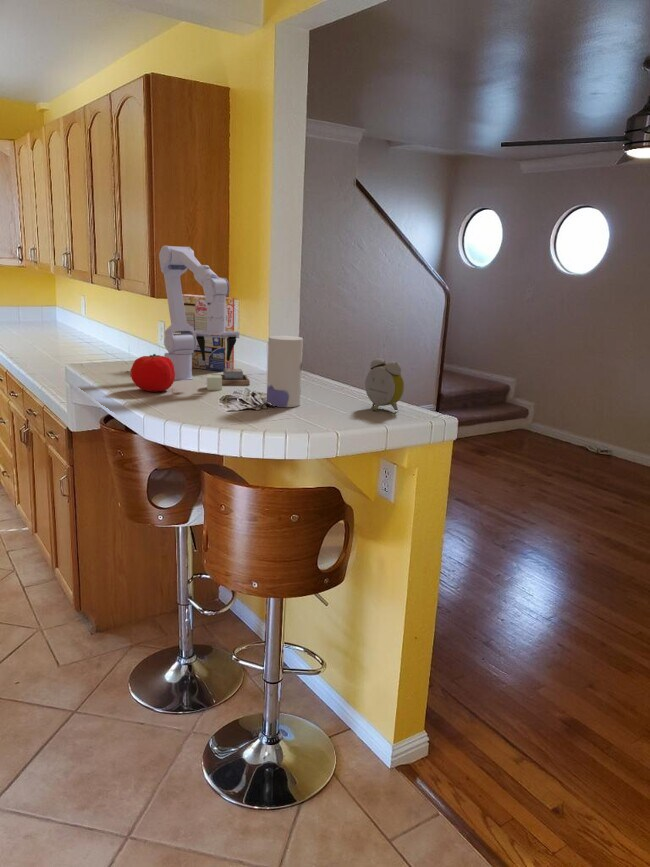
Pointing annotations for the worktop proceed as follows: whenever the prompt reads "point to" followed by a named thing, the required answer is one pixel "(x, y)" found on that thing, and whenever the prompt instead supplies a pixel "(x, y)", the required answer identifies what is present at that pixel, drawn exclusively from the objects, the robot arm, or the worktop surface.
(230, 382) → the brown wooden tray
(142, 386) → the tomato
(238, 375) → the grey block
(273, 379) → the container
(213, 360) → the cereal box
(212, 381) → the beige cube
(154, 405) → the worktop surface
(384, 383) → the alarm clock
